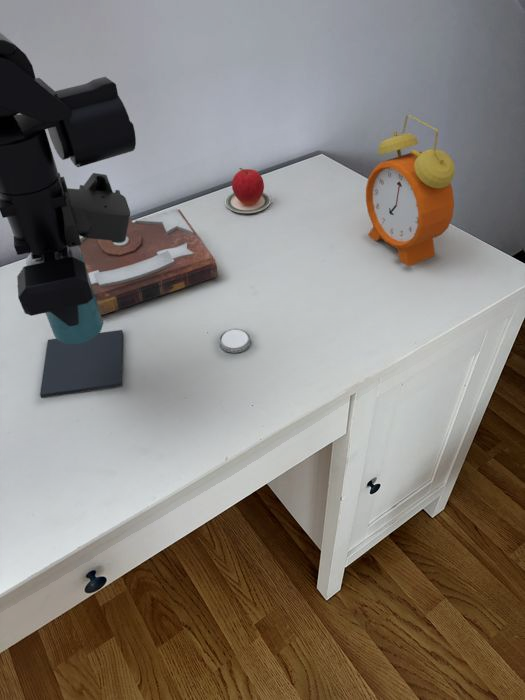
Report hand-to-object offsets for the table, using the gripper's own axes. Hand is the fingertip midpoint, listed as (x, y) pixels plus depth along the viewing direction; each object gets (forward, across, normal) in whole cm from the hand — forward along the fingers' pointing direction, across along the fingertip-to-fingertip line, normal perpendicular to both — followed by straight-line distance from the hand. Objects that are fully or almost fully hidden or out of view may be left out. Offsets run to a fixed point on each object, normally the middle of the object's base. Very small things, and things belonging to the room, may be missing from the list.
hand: (71, 308), depth 63 cm
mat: (+12, +4, +1) cm, 13 cm away
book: (+12, +20, -8) cm, 25 cm away
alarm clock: (+12, +12, -50) cm, 53 cm away
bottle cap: (+12, 0, -19) cm, 22 cm away
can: (+3, 0, 0) cm, 3 cm away
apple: (+12, +34, -31) cm, 48 cm away
